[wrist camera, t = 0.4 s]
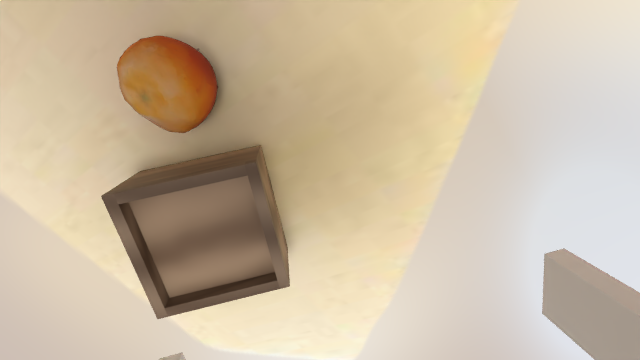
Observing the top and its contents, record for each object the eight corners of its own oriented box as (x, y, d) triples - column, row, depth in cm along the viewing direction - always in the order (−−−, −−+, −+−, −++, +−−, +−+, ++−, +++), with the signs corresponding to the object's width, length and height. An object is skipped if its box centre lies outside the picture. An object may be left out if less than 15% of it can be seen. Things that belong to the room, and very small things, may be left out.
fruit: (254, 87, 30) (204, 119, 24) (207, 121, 34) (154, 155, 28) (199, 8, 28) (127, 20, 21) (156, 55, 32) (85, 77, 26)
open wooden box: (139, 171, 32) (101, 196, 25) (260, 145, 33) (255, 161, 26) (180, 273, 37) (157, 319, 30) (287, 247, 37) (289, 286, 30)
